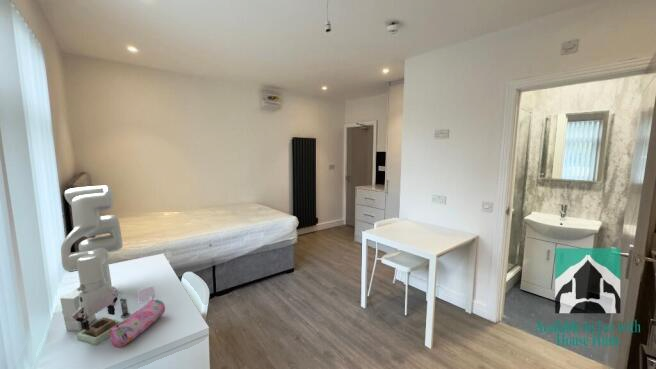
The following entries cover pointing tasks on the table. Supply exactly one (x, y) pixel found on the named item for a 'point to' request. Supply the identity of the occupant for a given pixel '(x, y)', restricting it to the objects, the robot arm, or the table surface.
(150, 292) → the mobile phone
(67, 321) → the skincare box
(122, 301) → the grey stamp
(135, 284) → the table surface
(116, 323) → the tray
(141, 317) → the pencil case
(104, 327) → the brown square frame
